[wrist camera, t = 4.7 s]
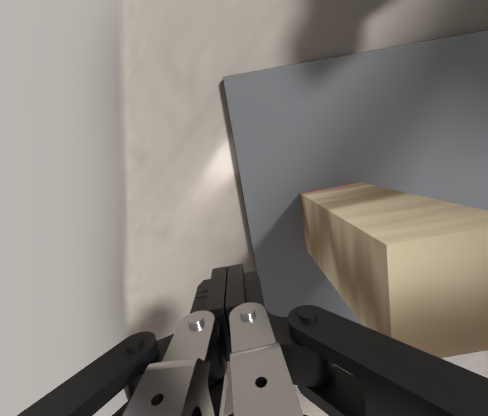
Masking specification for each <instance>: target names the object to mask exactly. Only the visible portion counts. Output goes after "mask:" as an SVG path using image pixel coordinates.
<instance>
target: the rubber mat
mask: <svg viewBox="0 0 488 416" xmlns="http://www.w3.org/2000/svg"><path fill="white" fill-rule="evenodd" d="M223 80H224V86H225V92H226V98H227V103H228V109H229V115H230V121H231V126H232V132H233V138H234V144H235V149H236V155H237V161H238V167H239V173H240V178H241V184H242V190H243V196H244V201H245V207H246V213H247V219H248V224H249V230H250V236H251V242H252V247H253V253H254V259H255V265H256V271H257V275H258V276H259V279H260V284H261V289H262V294H263V300H264V305H265V308H266V310H267V311H268V312H269V313H271V314H273V315H276V316H280V317H288V314H289V312H290V311H291V310H292V309H294V308H296V307H298V306H302V305H314V306H318V307H320V308H323V309H325V310H328V311H330V312H332V313H335V314H337V315H339V316H342V317H344V318H346V319H349V320H351V321H354V322H356V323H358V324H361V323H360V321H359V320H358V319H357V317H356V316H355V315H354V313H353V312H352V311H351V309H350V308H349V307H348V305H347V304H346V303H345V301H344V300H343V298H342V297H341V296H340V294H339V293H338V292H337V290H336V289H335V288H334V286H333V285H332V284H331V282H330V281H329V280H328V278H327V277H326V276H325V274H324V273H323V272H322V270H321V269H320V268H319V266H318V265H317V264H316V262H315V261H314V259H313V258H312V257H311V255H310V254H309V253H308V251H307V250H306V242H305V234H304V226H303V218H302V210H301V202H300V194H299V193H302V192H307V191H313V190H319V189H325V188H330V187H336V186H342V185H348V184H353V183H359V182H361V183H366V184H370V185H375V186H379V187H384V188H388V189H393V190H397V191H402V192H406V193H411V194H415V195H420V196H424V197H429V198H433V199H438V200H443V201H447V202H452V203H456V204H461V205H465V206H470V207H474V208H479V209H483V210H488V30H486V31H480V32H474V33H469V34H463V35H457V36H452V37H446V38H440V39H435V40H429V41H423V42H418V43H412V44H406V45H401V46H395V47H389V48H384V49H378V50H372V51H367V52H361V53H355V54H349V55H344V56H338V57H332V58H327V59H321V60H315V61H310V62H304V63H298V64H293V65H287V66H281V67H276V68H270V69H264V70H259V71H253V72H247V73H242V74H236V75H230V76H225V77H223ZM361 325H362V324H361Z"/></svg>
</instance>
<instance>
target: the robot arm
mask: <svg viewBox="0 0 488 416" xmlns="http://www.w3.org/2000/svg"><path fill="white" fill-rule="evenodd" d="M227 361H230V367H231V382H232V397H233V414H230V415H228V416H307V415H303V413H302V410H301V407H300V404H299V401H298V398H297V395H296V392H295V389H294V386H293V384H294V385H298V388H299V390H300V392H301V393H302V394H303V395H304V396H305V397H306V398H307V399H309V400H310V401H311V402H313V403H314V404H315V405H316V406H318V407H319V408H320V409H321V410H323V411H324V412H325V413H327V414H328V415H329V416H488V378H486V377H483V376H481V375H479V374H476V373H474V372H471V371H469V370H467V369H464V368H462V367H460V366H457V365H455V364H453V363H450V362H448V361H445V360H443V359H441V358H438V357H436V356H434V355H431V354H429V353H427V352H424V351H422V350H420V349H417V348H415V347H412V346H410V345H408V344H405V343H403V342H401V341H398V340H396V339H394V338H391V337H389V336H387V335H384V334H382V333H379V332H377V331H375V330H372V329H370V328H368V327H365V326H363V325H361V324H358V323H356V322H354V321H351V320H349V319H346V318H344V317H342V316H339V315H337V314H335V313H332V312H330V311H328V310H325V309H323V308H320V307H318V306H314V305H302V306H298V307H296V308H294V309H292V310H291V311H290V312H289V314H288V317H280V316H276V315H273V314H271V313H269V312H268V311H267V310H266V308H265V305H264V300H263V294H262V289H261V284H260V279H259V276H258V275H257V274H256V273H255V272H249V273H244V270H243V265H242V264H238V265H233V266H228V267H221V268H215V269H213V270H212V275H211V279H208V280H203V282H202V283H201V284H200V285H199V286H198V288H197V292H196V295H195V299H194V302H193V306H192V309H191V312H190V314H189V315H187V316H185V317H184V318H183V319H182V320H181V321H180V322H179V324H178V326H177V328H176V331H175V333H174V334H173V335H170V336H168V337H165V338H163V339H160V340H158V341H156V338H155V335H154V334H153V333H151V332H139V333H136V334H134V335H131V336H129V337H128V338H126V339H125V340H123V341H122V342H120V343H119V344H117V345H116V346H115V347H113V348H112V349H111V350H109V351H108V352H106V353H105V354H104V355H102V356H101V357H99V358H98V359H96V360H95V361H94V362H92V363H91V364H89V365H88V366H86V367H85V368H84V369H82V370H81V371H79V372H78V373H77V374H75V375H74V376H72V377H71V378H70V379H68V380H67V381H65V382H64V383H62V384H61V385H60V386H58V387H57V388H55V389H54V390H53V391H51V392H50V393H48V394H47V395H45V396H44V397H43V398H41V399H40V400H38V401H37V402H36V403H34V404H33V405H31V406H30V407H29V408H27V409H26V410H24V411H23V412H21V413H20V414H19V415H17V416H92V415H93V414H95V413H96V412H97V411H98V410H99V409H100V408H102V407H103V406H104V405H105V404H106V403H107V402H108V401H110V400H111V399H112V398H113V397H114V396H115V395H116V394H118V393H119V392H120V391H121V390H122V389H124V390H125V393H126V396H127V399H128V402H126V403H125V404H124V405H123V406H122V407H121V408H120V409H119V410H118V411H117V412H116V413H115V414H114V415H112V416H224V408H225V400H226V391H227V383H228V377H227V372H226V370H227ZM334 364H335V365H334ZM336 365H337V366H336ZM338 366H339V367H340V368H339V367H338ZM341 368H342V369H341ZM343 369H344V370H345V371H344V370H343ZM346 371H347V372H346ZM348 372H349V373H350V374H349V373H348ZM351 374H352V375H351Z"/></svg>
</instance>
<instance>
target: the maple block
mask: <svg viewBox="0 0 488 416" xmlns="http://www.w3.org/2000/svg"><path fill="white" fill-rule="evenodd" d="M299 194H300V202H301V210H302V218H303V226H304V234H305V242H306V250H307V251H308V253H309V254H310V255H311V257H312V258H313V259H314V261H315V262H316V264H317V265H318V266H319V268H320V269H321V270H322V272H323V273H324V274H325V276H326V277H327V278H328V280H329V281H330V282H331V284H332V285H333V286H334V288H335V289H336V290H337V292H338V293H339V294H340V296H341V297H342V298H343V300H344V301H345V303H346V304H347V305H348V307H349V308H350V309H351V311H352V312H353V313H354V315H355V316H356V317H357V319H358V320H359V321H360V323H361V324H362V325H363V326H365V327H368V328H370V329H372V330H375V331H377V332H379V333H382V334H384V335H387V336H389V337H391V338H394V339H396V340H398V341H401V342H403V343H405V344H408V345H410V346H412V347H415V348H417V349H420V350H422V351H424V352H427V353H429V354H431V355H434V356H436V357H438V358H444V357H450V356H455V355H461V354H467V353H473V352H479V351H485V350H488V210H483V209H479V208H474V207H470V206H465V205H461V204H456V203H452V202H447V201H443V200H438V199H433V198H429V197H424V196H420V195H415V194H411V193H406V192H402V191H397V190H393V189H388V188H384V187H379V186H375V185H370V184H366V183H361V182H359V183H353V184H348V185H342V186H336V187H330V188H325V189H319V190H313V191H307V192H302V193H299Z"/></svg>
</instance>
